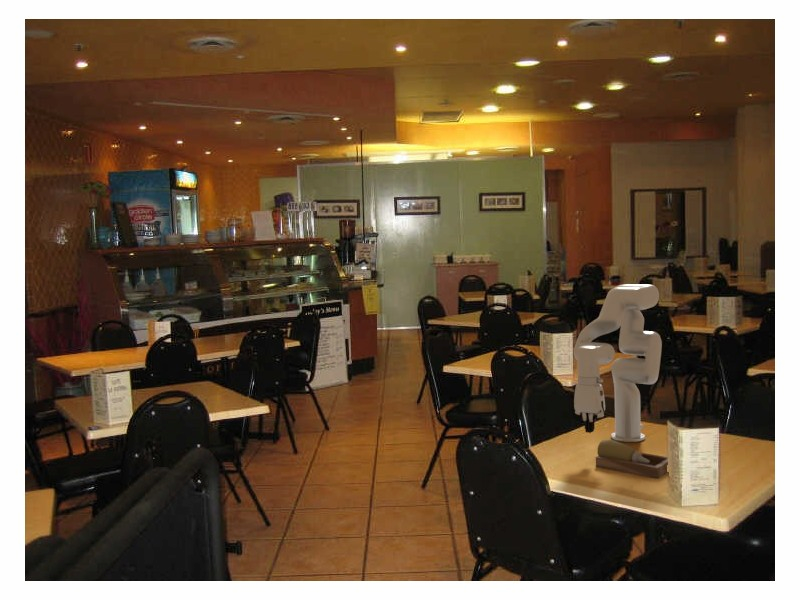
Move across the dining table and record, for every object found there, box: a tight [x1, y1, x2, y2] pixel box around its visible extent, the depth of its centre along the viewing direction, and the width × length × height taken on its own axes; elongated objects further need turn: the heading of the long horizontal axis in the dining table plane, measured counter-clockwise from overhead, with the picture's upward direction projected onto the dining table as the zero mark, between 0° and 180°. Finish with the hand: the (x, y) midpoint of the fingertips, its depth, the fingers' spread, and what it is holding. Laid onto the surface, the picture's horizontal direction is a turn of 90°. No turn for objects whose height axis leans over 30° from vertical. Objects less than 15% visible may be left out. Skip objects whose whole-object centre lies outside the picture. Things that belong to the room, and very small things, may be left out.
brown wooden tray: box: [595, 452, 669, 480], centre depth 256 cm, size 13×22×4 cm, turn 48°
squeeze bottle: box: [596, 439, 650, 464], centre depth 258 cm, size 8×8×18 cm
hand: (589, 431), depth 267 cm, fingers closed
